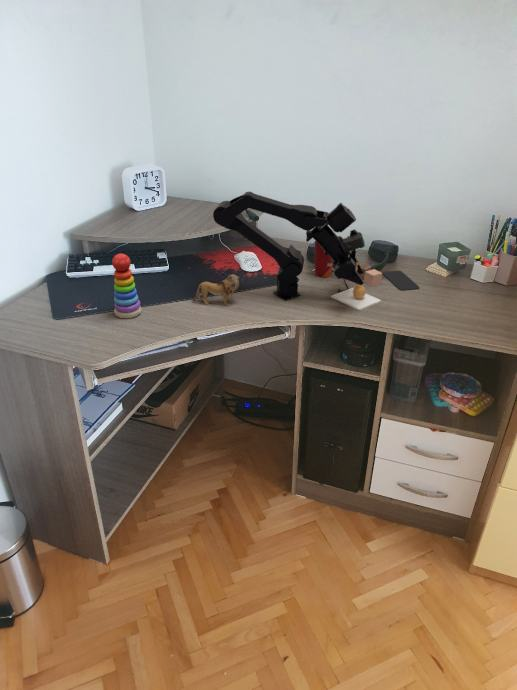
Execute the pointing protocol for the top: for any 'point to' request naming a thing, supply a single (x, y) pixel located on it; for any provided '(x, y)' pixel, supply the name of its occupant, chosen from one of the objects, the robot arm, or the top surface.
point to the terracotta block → (373, 277)
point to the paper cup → (322, 262)
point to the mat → (355, 300)
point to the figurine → (359, 288)
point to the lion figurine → (218, 289)
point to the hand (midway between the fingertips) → (362, 278)
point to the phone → (400, 280)
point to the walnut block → (364, 268)
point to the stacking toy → (125, 288)
